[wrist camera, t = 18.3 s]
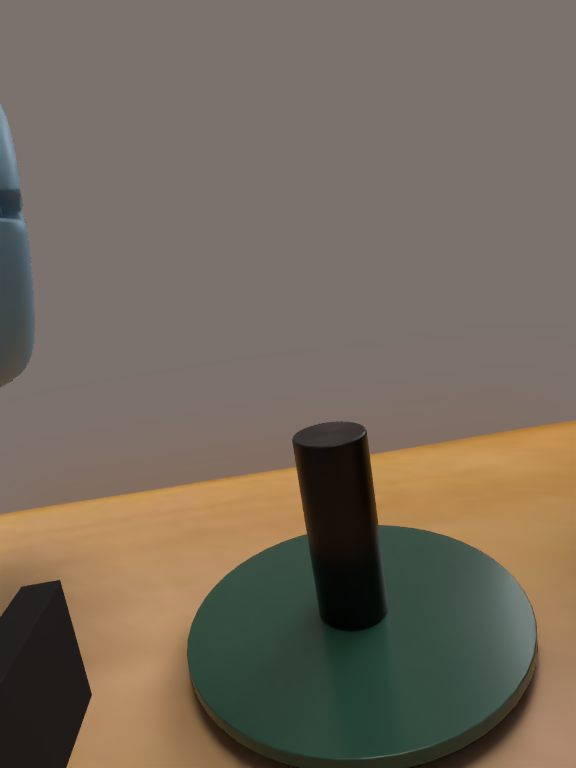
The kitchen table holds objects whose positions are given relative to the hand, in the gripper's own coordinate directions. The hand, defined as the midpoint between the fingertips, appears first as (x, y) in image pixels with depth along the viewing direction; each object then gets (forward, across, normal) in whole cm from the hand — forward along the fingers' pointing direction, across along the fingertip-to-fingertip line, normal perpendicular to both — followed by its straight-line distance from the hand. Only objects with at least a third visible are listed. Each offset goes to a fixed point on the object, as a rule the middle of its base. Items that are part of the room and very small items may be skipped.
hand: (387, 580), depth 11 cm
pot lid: (+8, 0, -7) cm, 11 cm away
